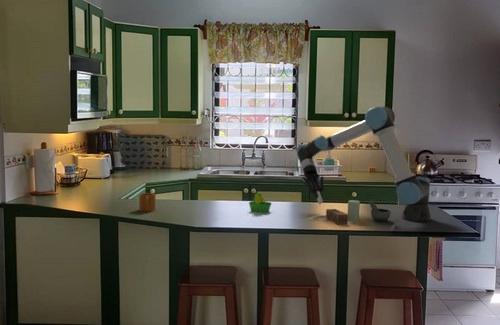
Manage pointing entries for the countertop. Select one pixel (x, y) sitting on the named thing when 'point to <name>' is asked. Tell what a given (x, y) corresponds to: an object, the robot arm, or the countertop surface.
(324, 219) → the maple board
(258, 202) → the fruit basket
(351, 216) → the sage-green block
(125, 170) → the countertop surface
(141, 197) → the mug
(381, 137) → the robot arm
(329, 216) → the walnut block
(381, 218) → the mortar and pestle
